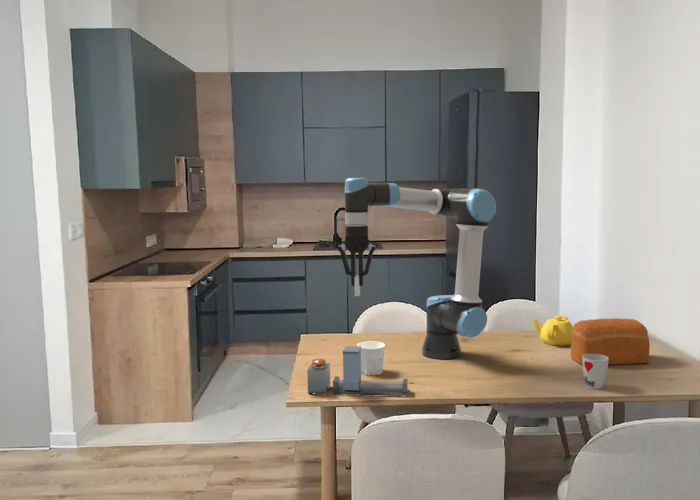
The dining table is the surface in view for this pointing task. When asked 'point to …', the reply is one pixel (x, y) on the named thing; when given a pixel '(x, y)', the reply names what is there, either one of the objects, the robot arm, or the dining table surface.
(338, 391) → the rail
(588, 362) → the cup
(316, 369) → the gauge cabinet
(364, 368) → the cup
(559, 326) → the teapot
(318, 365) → the plunger
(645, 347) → the bread
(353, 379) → the grey rectangular block
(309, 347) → the dining table surface
